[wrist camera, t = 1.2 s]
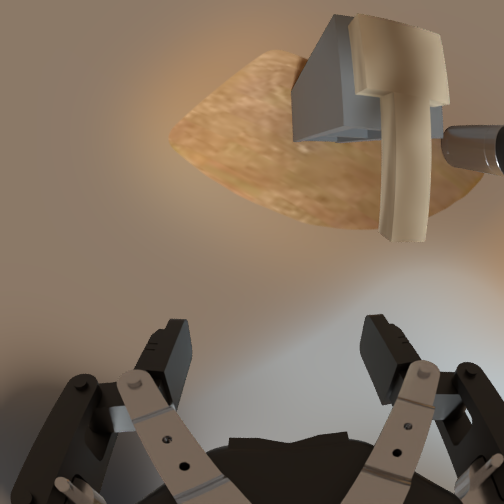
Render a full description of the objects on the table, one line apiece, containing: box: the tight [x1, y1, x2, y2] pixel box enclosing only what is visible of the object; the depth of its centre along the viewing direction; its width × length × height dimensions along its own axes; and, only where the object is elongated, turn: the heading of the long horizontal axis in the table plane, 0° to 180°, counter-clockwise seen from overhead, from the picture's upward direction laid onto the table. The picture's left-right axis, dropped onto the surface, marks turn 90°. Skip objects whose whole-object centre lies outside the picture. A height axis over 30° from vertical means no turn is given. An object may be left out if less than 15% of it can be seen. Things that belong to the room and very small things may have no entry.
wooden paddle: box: [348, 13, 450, 242], centre depth 17 cm, size 7×16×2 cm, turn 2°
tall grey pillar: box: [291, 14, 443, 143], centre depth 32 cm, size 9×10×32 cm
